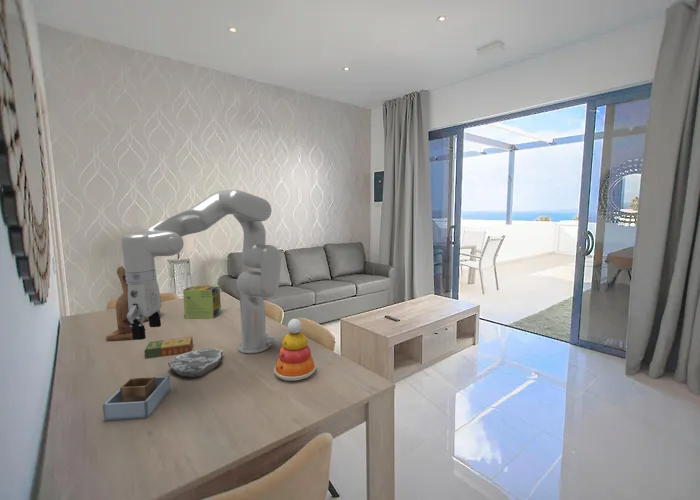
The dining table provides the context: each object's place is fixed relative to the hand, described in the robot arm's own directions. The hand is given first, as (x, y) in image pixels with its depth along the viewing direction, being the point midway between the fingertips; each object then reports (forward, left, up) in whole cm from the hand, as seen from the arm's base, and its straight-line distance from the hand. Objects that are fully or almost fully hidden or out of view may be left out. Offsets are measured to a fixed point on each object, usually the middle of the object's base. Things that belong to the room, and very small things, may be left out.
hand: (147, 332), depth 101 cm
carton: (+9, -34, -21) cm, 40 cm away
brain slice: (-6, -19, -20) cm, 28 cm away
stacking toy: (-42, -10, -20) cm, 48 cm away
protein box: (+11, -81, -20) cm, 84 cm away
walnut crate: (+2, +4, -19) cm, 20 cm away
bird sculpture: (+36, -54, -20) cm, 68 cm away
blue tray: (+2, +4, -20) cm, 20 cm away
